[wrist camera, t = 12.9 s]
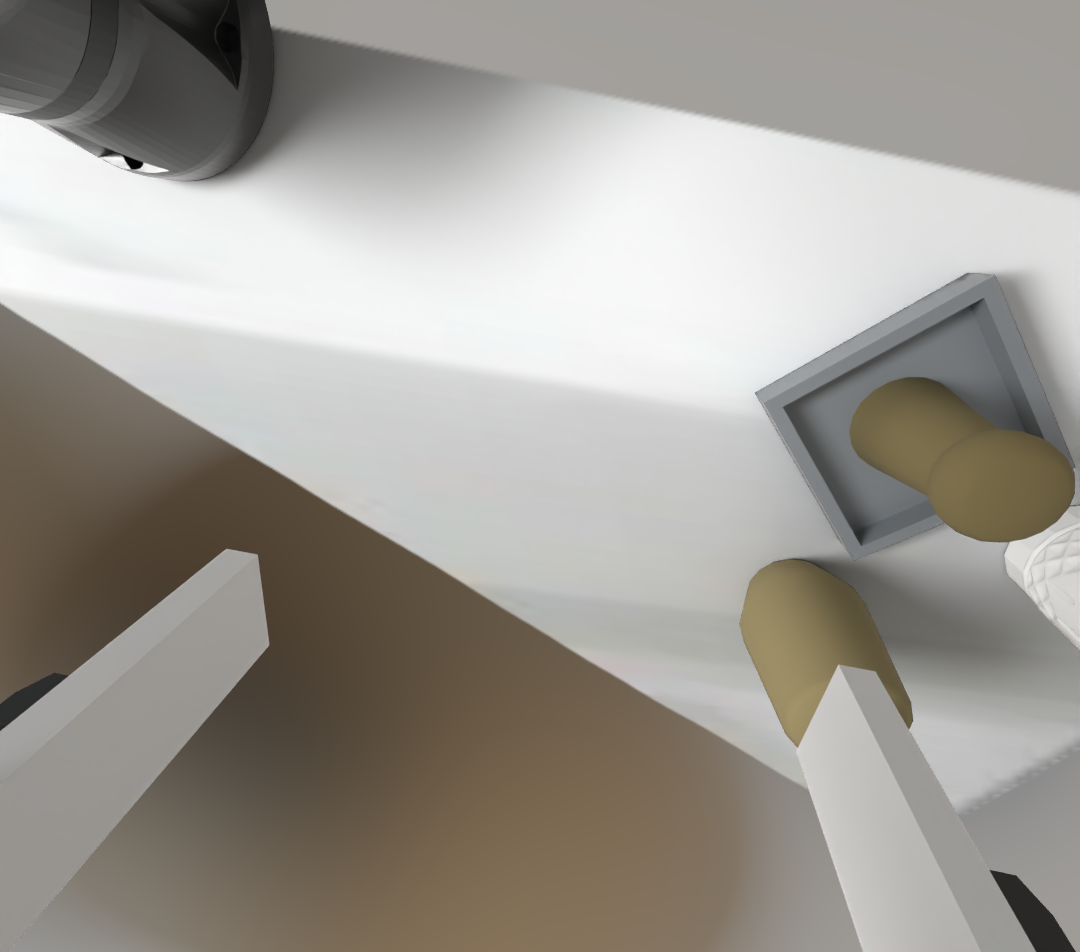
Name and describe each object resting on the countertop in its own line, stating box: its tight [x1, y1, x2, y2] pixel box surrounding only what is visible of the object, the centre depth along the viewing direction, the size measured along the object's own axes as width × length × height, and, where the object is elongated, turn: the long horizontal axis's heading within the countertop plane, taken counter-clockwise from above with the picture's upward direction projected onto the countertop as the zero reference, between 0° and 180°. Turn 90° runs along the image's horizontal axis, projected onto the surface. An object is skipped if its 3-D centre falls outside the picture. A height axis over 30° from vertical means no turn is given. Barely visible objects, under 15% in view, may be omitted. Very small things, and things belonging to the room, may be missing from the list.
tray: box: [755, 273, 1075, 561], centre depth 32 cm, size 13×13×2 cm
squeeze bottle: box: [740, 559, 913, 748], centre depth 31 cm, size 8×8×18 cm
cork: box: [850, 377, 1075, 542], centre depth 28 cm, size 6×6×11 cm
